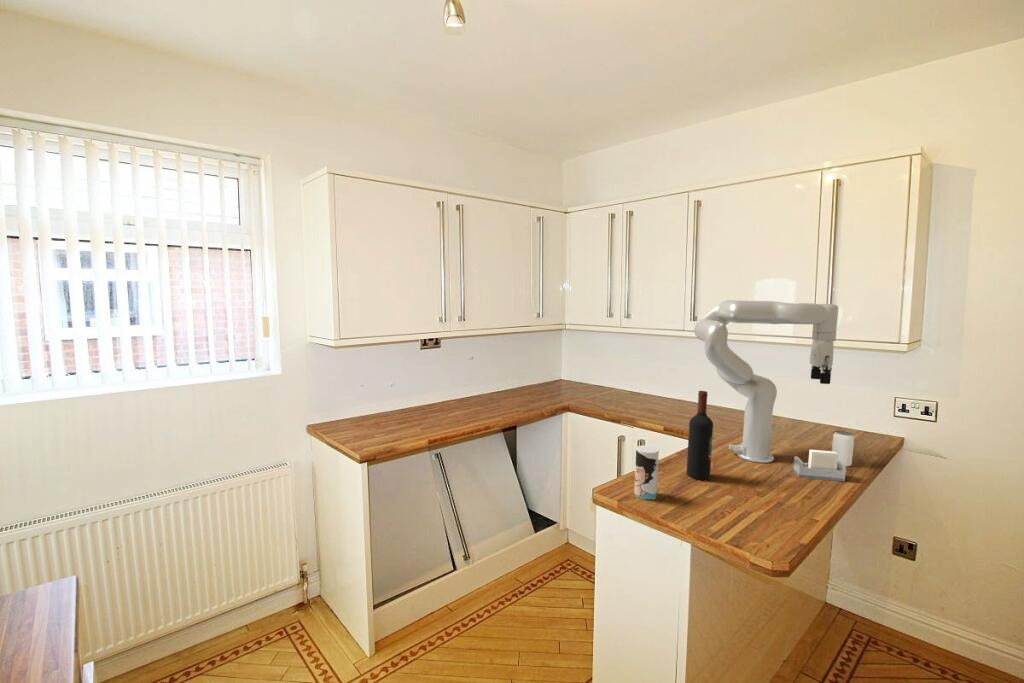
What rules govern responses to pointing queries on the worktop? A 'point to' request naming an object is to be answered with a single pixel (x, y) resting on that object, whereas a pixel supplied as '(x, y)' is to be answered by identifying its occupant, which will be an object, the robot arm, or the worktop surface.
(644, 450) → the cup
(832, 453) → the plain white block
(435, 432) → the worktop surface
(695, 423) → the wine bottle
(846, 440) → the can
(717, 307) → the robot arm
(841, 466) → the track
